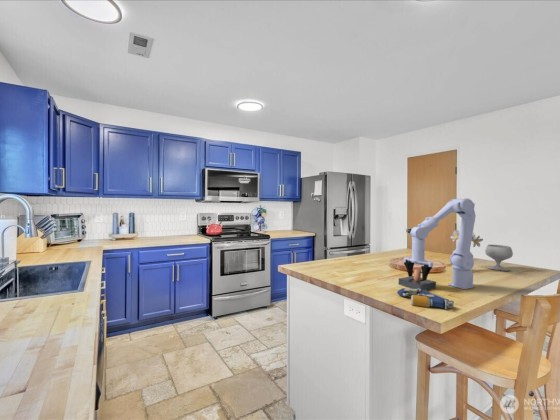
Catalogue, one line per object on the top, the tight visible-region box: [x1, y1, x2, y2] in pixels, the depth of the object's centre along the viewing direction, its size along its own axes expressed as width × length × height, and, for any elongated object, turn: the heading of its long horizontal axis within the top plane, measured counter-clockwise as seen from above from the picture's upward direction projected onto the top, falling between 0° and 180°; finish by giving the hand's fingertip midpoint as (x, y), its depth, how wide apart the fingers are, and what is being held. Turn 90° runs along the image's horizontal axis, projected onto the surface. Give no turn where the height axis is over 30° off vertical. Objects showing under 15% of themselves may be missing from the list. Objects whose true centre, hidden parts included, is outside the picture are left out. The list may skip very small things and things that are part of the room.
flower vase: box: [450, 229, 484, 248], centre depth 172 cm, size 13×18×25 cm
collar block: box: [398, 275, 437, 291], centre depth 138 cm, size 12×12×3 cm
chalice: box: [484, 244, 514, 272], centre depth 179 cm, size 14×14×15 cm
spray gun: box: [396, 287, 455, 310], centre depth 116 cm, size 21×4×15 cm
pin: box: [413, 268, 422, 282], centre depth 137 cm, size 3×3×8 cm
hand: (417, 278), depth 138 cm, fingers open, 7 cm apart
